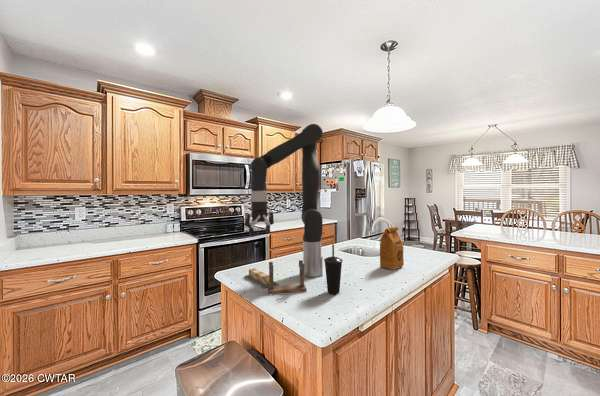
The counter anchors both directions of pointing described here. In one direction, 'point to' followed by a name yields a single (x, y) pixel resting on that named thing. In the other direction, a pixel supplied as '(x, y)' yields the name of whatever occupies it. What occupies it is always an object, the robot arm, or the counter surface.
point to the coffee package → (391, 249)
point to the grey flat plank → (260, 282)
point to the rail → (259, 276)
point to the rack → (287, 288)
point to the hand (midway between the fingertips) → (259, 234)
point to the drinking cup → (333, 273)
